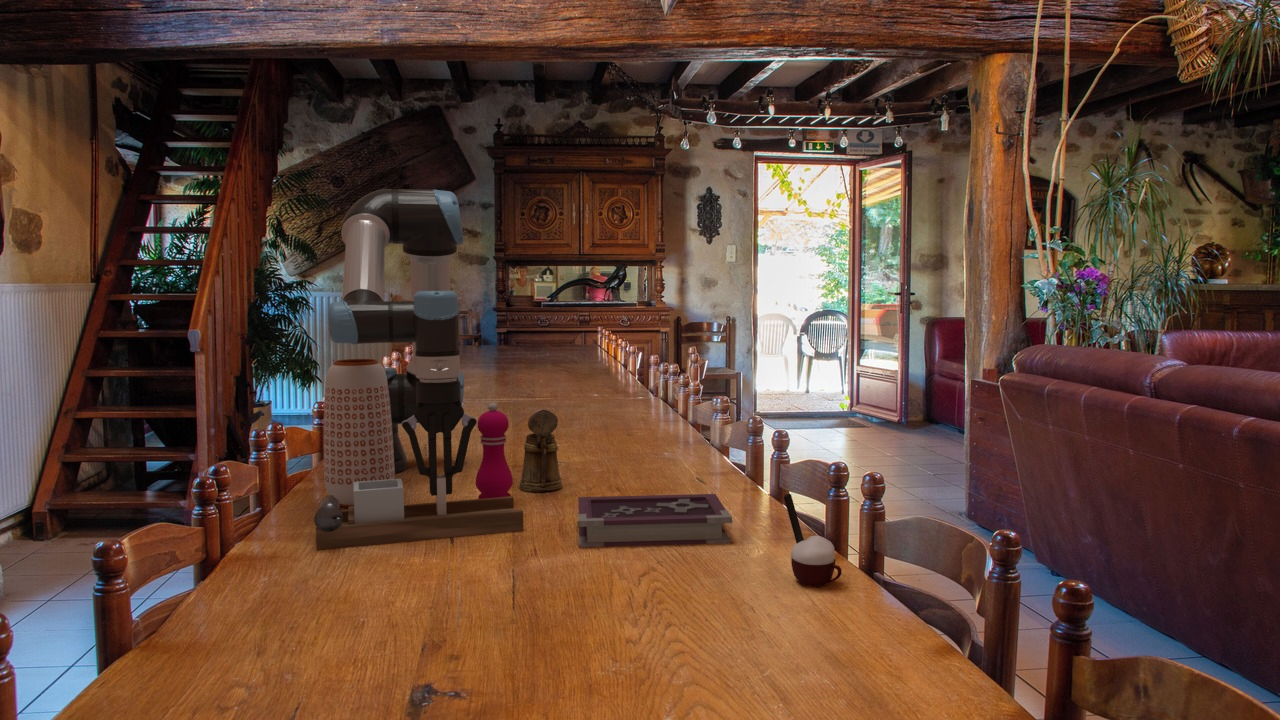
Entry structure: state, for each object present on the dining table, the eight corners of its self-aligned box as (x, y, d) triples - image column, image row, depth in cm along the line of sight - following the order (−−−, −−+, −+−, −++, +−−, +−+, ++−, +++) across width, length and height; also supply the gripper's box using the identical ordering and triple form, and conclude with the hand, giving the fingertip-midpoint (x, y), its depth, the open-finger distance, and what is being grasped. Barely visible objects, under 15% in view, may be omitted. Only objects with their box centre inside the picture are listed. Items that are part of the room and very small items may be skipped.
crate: (355, 521, 152) (353, 481, 151) (402, 517, 154) (401, 478, 154) (355, 532, 145) (353, 491, 144) (404, 528, 147) (403, 487, 147)
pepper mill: (505, 509, 166) (503, 406, 164) (470, 507, 168) (467, 405, 166) (518, 500, 173) (516, 400, 171) (484, 498, 175) (482, 399, 173)
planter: (384, 510, 165) (380, 363, 163) (314, 511, 165) (308, 364, 163) (403, 493, 179) (399, 357, 176) (338, 494, 179) (333, 357, 176)
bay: (319, 531, 152) (318, 507, 152) (512, 514, 162) (512, 492, 162) (316, 549, 142) (315, 524, 141) (523, 530, 152) (523, 506, 152)
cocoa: (847, 591, 123) (853, 509, 122) (809, 596, 121) (816, 512, 119) (809, 568, 132) (815, 491, 130) (774, 572, 129) (779, 493, 128)
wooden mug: (522, 499, 174) (520, 410, 172) (518, 483, 187) (516, 401, 185) (566, 497, 176) (565, 408, 174) (559, 481, 189) (558, 399, 187)
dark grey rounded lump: (317, 524, 151) (316, 492, 150) (344, 522, 152) (343, 490, 152) (314, 545, 139) (313, 510, 139) (343, 542, 140) (342, 508, 140)
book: (578, 550, 142) (578, 521, 142) (578, 523, 158) (577, 496, 158) (731, 546, 144) (732, 517, 144) (715, 519, 160) (716, 493, 160)
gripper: (400, 383, 145) (404, 521, 147) (478, 380, 149) (481, 515, 151) (398, 378, 152) (402, 510, 154) (473, 376, 156) (476, 504, 158)
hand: (441, 512), depth 153 cm, fingers closed
